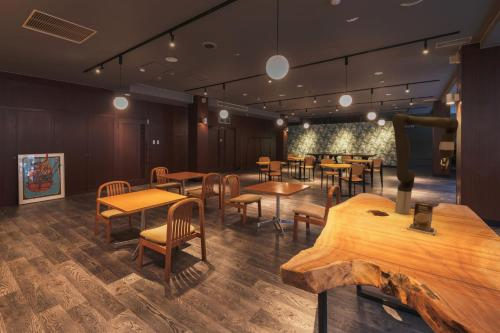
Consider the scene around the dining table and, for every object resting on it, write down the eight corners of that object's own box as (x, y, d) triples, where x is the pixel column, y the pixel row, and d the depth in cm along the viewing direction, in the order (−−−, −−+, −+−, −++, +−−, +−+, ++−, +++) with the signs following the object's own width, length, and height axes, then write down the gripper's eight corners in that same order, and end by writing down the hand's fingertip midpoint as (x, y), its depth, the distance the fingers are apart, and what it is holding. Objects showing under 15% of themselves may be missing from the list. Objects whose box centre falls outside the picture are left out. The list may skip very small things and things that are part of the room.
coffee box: (411, 228, 155) (414, 203, 153) (413, 225, 159) (416, 201, 157) (429, 232, 148) (432, 206, 146) (431, 229, 153) (433, 204, 151)
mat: (406, 229, 154) (406, 228, 153) (409, 224, 163) (409, 223, 163) (434, 235, 145) (434, 233, 145) (435, 229, 154) (436, 228, 154)
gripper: (440, 148, 168) (437, 171, 170) (438, 149, 157) (435, 174, 159) (454, 148, 163) (451, 172, 165) (453, 149, 152) (450, 175, 155)
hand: (443, 173), depth 162 cm, fingers open, 8 cm apart
